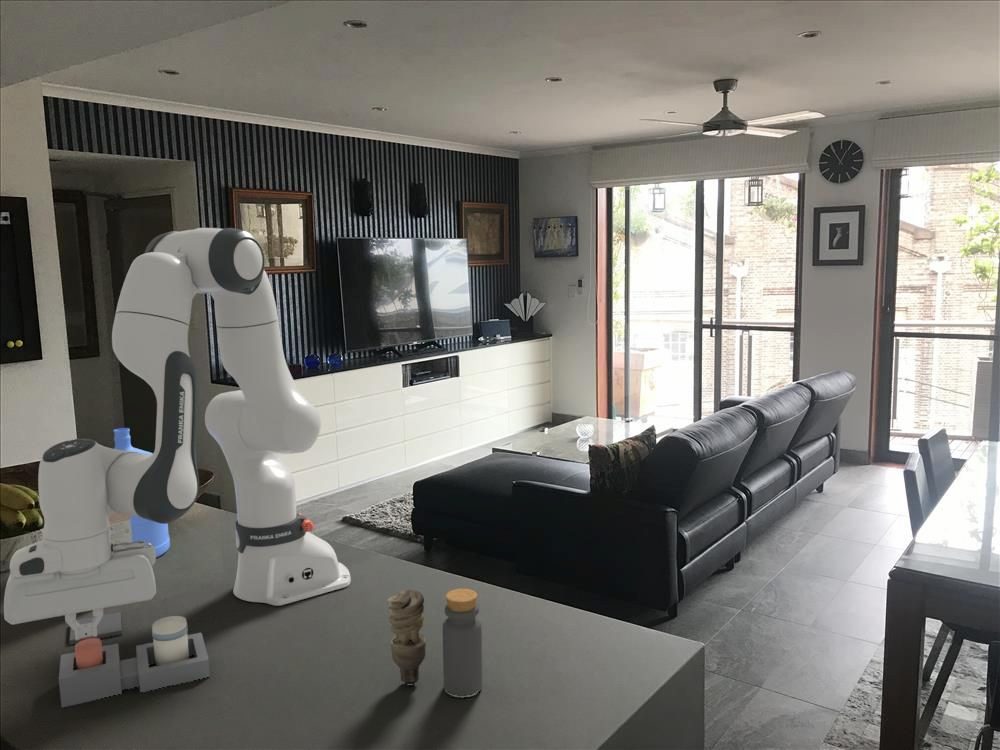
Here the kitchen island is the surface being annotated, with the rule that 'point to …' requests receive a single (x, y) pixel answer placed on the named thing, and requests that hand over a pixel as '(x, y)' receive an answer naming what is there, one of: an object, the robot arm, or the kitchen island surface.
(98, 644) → the plunger
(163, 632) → the cartridge
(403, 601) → the light bulb
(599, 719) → the kitchen island surface
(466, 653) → the bottle
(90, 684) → the housing
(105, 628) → the pad
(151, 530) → the water jug
